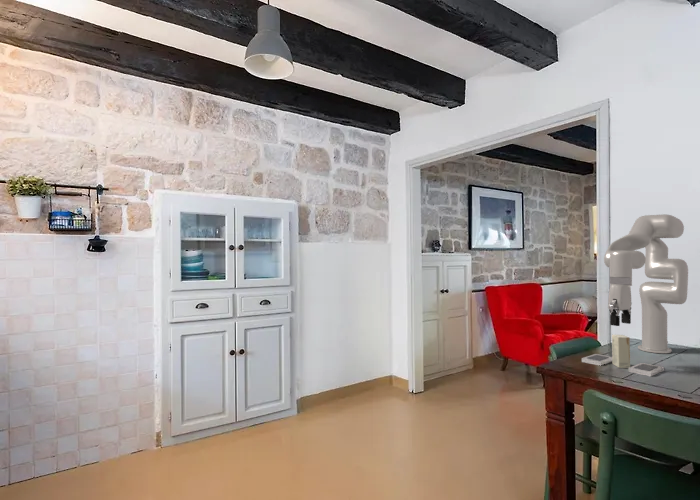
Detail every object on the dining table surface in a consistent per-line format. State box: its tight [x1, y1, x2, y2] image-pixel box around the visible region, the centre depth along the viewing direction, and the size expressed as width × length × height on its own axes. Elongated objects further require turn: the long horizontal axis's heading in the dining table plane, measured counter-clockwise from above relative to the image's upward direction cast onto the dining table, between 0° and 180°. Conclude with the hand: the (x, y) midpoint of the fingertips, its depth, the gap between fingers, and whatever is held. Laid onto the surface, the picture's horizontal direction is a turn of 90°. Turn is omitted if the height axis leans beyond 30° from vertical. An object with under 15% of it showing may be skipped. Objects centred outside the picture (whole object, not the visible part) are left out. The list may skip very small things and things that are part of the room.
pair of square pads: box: [581, 353, 665, 377], centre depth 169 cm, size 12×25×2 cm, turn 35°
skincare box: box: [611, 334, 631, 369], centre depth 169 cm, size 6×4×12 cm
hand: (620, 324), depth 169 cm, fingers open, 9 cm apart
